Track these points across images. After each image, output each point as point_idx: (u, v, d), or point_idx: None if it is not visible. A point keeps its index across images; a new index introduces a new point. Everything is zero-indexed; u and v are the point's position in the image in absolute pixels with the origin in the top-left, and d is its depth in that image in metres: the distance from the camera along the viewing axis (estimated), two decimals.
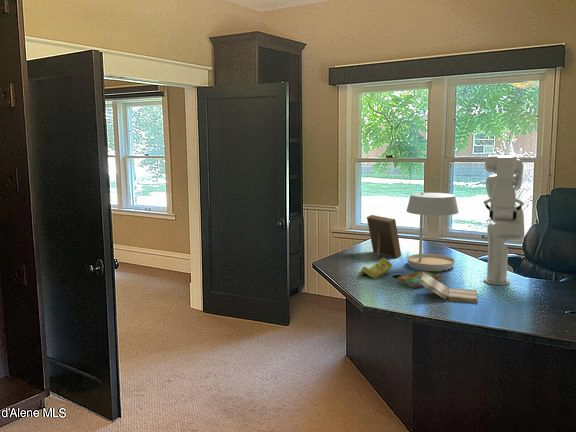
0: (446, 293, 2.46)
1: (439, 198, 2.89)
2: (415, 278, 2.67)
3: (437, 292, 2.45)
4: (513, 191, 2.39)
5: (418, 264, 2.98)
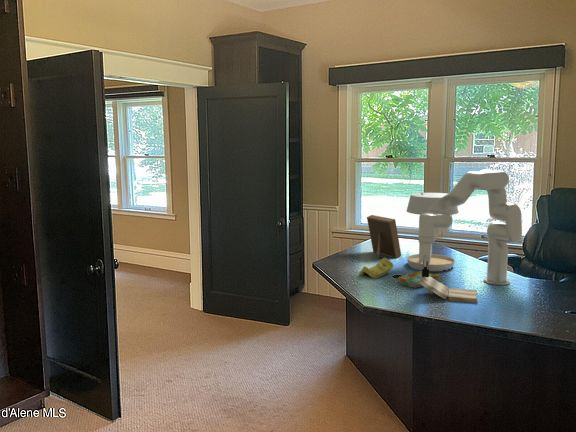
0: (446, 293, 2.46)
1: (439, 198, 2.89)
2: (415, 278, 2.67)
3: (437, 292, 2.45)
4: None
5: (418, 264, 2.98)
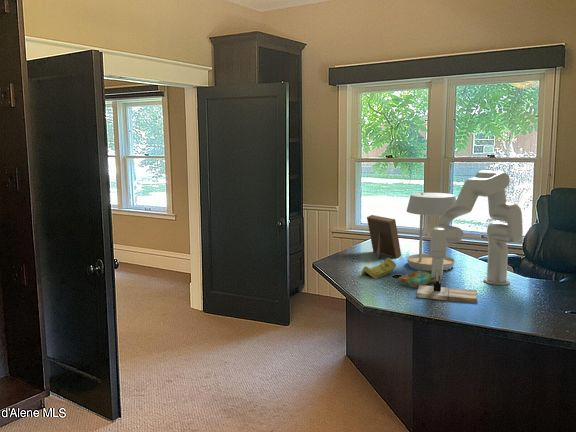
0: (446, 294, 2.46)
1: (439, 198, 2.89)
2: (416, 278, 2.67)
3: (437, 297, 2.45)
4: None
5: (418, 264, 2.98)
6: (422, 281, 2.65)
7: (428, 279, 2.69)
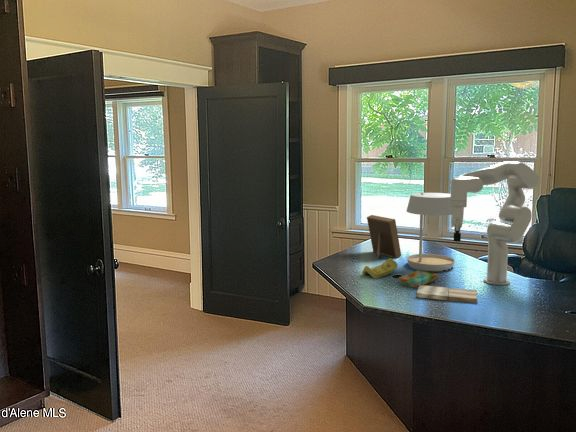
0: (446, 294, 2.46)
1: (439, 198, 2.89)
2: (416, 278, 2.68)
3: (437, 297, 2.45)
4: None
5: (418, 264, 2.98)
6: (422, 281, 2.65)
7: (428, 279, 2.69)
